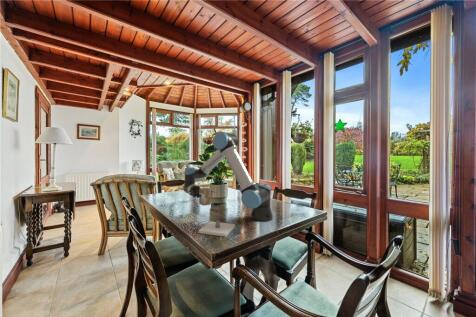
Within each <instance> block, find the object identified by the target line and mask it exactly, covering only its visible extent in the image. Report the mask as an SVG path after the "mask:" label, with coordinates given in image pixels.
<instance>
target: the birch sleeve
mask: <svg viewBox="0 0 476 317" xmlns="http://www.w3.org/2000/svg"><path fill="white" fill-rule="evenodd" d="M212 191H213V189H212V188H210V187H200V188H199V193H202V194H205V199H202V198H200V197H199V198H198V199H199V200H198V204H199V205H201V206H203V207H204V206H211V205H212V204H213V198H212Z"/></svg>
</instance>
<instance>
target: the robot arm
mask: <svg viewBox="0 0 476 317" xmlns="http://www.w3.org/2000/svg"><path fill="white" fill-rule="evenodd" d="M239 143H240V139H239V138H238V136H237V135H236V134H235V133H231V132H225V131H219V132H217V133H216V134H215V135H214V136H213V139H212V145H213V148H215V150H216V152H214V153H213V154H212V155H211V156H210V158H209V159H207V160H206V161H205V162H204V163H203V164H202V165H201V166H200V167H199V168H197V169H195V167H189V166H188V167H185V168H184V184H183V185H182V191H183V192H185V193H186V194H188V195H189V196H191V197H193V198H197V199H199V197H200V198H202V199H205V194H202V193H199V188H201V187H200V185H196V180H200V179H205V178H207V177H208V175H209V173H210V172H211V171H212V170H213V169H214V168H215V167H216V166H217V165H219V163H221V161H223V160H224V159H226V162H227V164H228V166H229V167H230V169H231V171H232V173H233V176H234V177H235V179H236V181H237V182H238V185H239V186H240V194H241V198H240V200H241V203H242V204H243V206H244V207H245V208H248V209H251V212H250V219H251V220H254V221H257V222H269V220H270V221H272V220H273V219H274V217H273V212H272V208H271V200H272V199H271V196H272V190H271V188H272V186H270V185H269V184H259V183H257V182H255V181H253V179H252V177H251V175H250V173H249V172H248V169H247V167H246V166H245V164H244V162H243V159H242V158H241V157H240V155H239V153H238V151H237V148H238V147H239V145H240V144H239ZM214 198H215V193H214V191H213V190H212V199H214Z"/></svg>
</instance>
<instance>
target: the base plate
mask: <svg viewBox="0 0 476 317" xmlns="http://www.w3.org/2000/svg"><path fill="white" fill-rule="evenodd" d="M235 227H236V224H235V223H226V222H220V220H215V221H209V222H208V223H206V224H205V225H204V226H202V227H201V228H200V229H198V234H204V235H209V236H219V237H226V238H227V236H228V235H229V234H230V233H231V232H232V231H233V230H234V229H235Z"/></svg>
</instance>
